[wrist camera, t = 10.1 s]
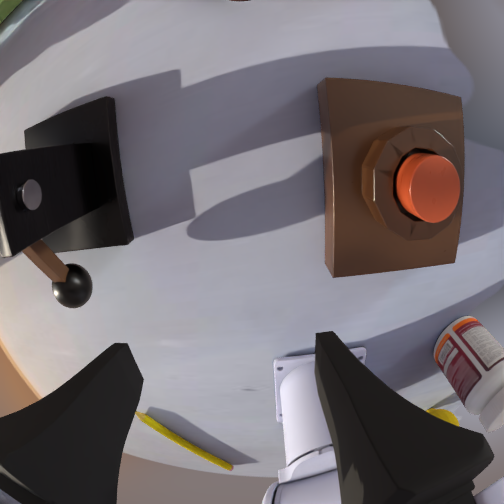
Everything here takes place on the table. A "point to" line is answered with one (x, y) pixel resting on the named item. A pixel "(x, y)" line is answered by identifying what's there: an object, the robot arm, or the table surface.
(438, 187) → the press button
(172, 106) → the table surface
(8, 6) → the edible corn
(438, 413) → the fruit
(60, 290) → the lever
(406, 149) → the button block
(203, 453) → the pencil
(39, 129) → the lever stand
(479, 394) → the pill bottle
